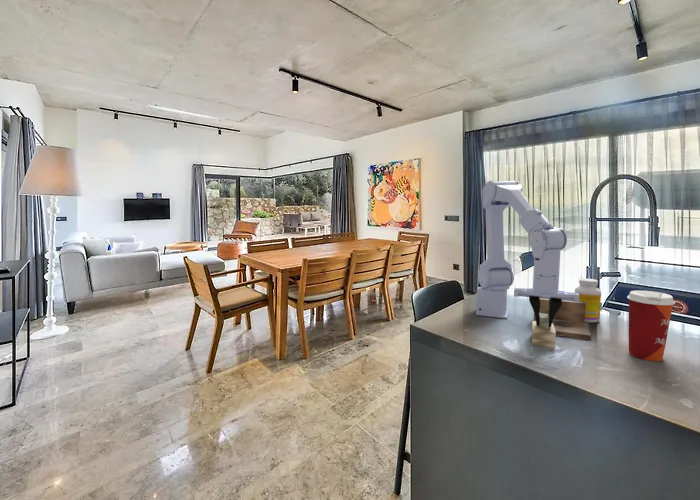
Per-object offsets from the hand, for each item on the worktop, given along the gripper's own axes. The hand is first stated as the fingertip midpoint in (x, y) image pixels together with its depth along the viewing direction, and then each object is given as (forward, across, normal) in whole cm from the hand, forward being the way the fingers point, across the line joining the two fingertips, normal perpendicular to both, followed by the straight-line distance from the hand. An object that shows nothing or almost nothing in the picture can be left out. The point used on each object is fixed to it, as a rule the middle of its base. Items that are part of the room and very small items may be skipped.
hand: (543, 325), depth 86 cm
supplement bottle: (+5, +13, +24) cm, 28 cm away
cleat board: (+4, +5, +12) cm, 14 cm away
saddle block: (+4, 0, 0) cm, 4 cm away
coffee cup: (+5, +21, 0) cm, 21 cm away
